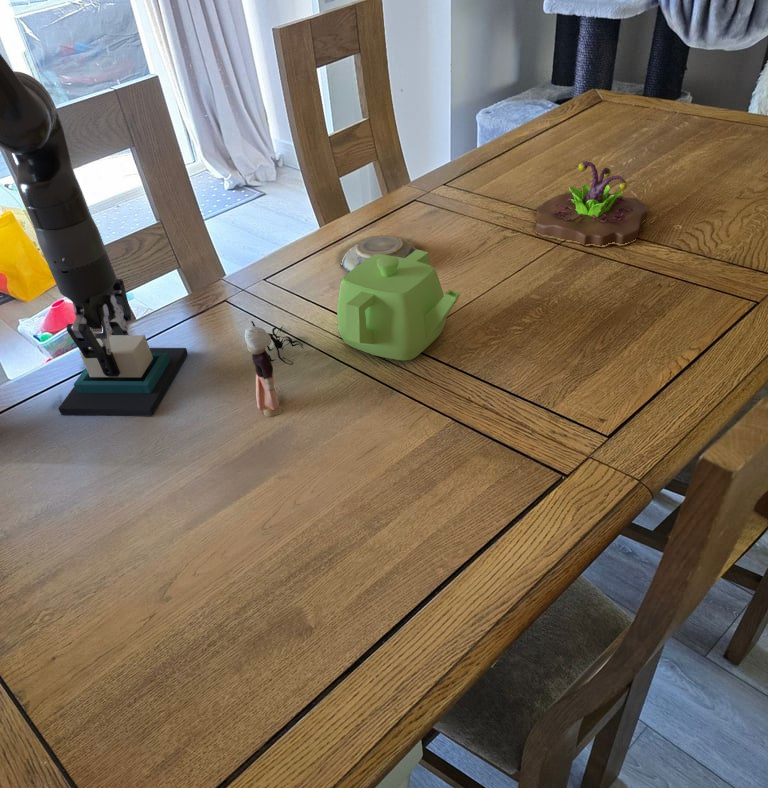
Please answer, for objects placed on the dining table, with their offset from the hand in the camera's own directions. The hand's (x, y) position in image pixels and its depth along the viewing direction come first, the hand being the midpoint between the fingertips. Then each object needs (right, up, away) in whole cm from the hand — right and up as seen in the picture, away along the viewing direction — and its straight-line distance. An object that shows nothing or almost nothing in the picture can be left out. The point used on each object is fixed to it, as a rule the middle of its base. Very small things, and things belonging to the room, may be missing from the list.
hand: (120, 364), depth 102 cm
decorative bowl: (+38, +23, +24) cm, 51 cm away
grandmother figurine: (+23, -8, -5) cm, 25 cm away
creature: (+23, +2, +5) cm, 24 cm away
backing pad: (0, -2, +2) cm, 3 cm away
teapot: (+42, +4, +4) cm, 43 cm away
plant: (+78, +33, +29) cm, 89 cm away
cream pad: (0, 0, 0) cm, 1 cm away
